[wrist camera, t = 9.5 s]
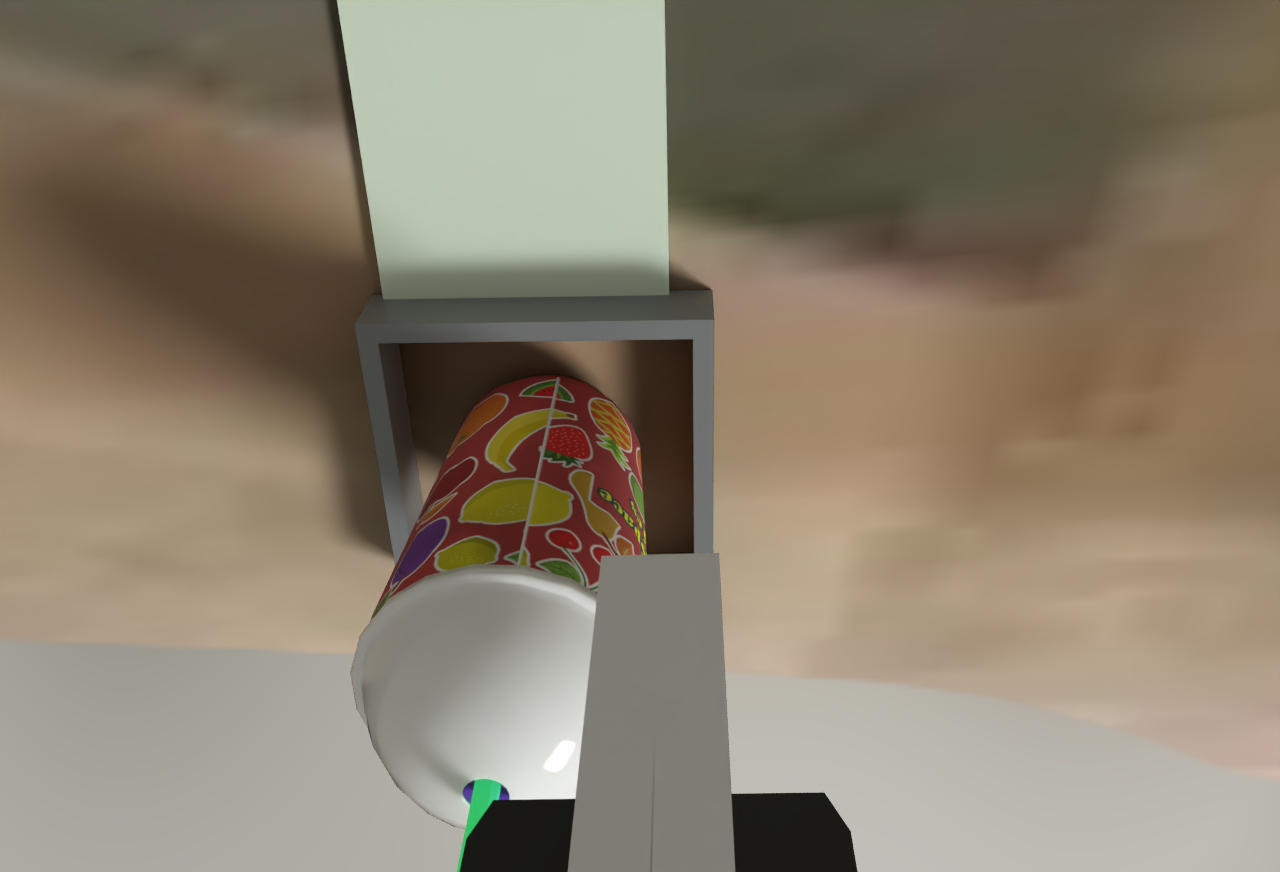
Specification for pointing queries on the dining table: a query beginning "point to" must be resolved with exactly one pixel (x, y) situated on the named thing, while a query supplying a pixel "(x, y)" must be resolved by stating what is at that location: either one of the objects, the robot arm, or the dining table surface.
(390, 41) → the mat
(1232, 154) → the dining table surface
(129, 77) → the dining table surface
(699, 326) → the socket
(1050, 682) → the dining table surface
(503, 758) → the smoothie
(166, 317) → the dining table surface
